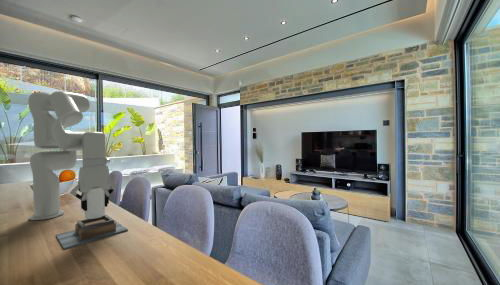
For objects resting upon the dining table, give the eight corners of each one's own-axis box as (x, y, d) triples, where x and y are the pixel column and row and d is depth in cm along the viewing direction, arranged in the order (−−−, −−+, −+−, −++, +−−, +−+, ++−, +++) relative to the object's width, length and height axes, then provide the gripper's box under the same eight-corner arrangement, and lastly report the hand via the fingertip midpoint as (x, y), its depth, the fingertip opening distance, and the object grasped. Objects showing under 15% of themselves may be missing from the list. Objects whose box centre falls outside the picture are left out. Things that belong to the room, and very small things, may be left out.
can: (94, 220, 83) (94, 188, 83) (80, 219, 85) (80, 188, 85) (108, 214, 90) (108, 185, 90) (95, 213, 91) (95, 184, 91)
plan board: (56, 236, 84) (55, 223, 84) (114, 221, 99) (114, 210, 99) (63, 249, 74) (63, 235, 74) (127, 230, 89) (127, 218, 89)
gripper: (115, 160, 96) (116, 201, 96) (64, 164, 83) (65, 211, 83) (121, 161, 91) (122, 204, 91) (68, 165, 78) (69, 215, 78)
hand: (95, 207), depth 87 cm, fingers closed on can, 6 cm apart
